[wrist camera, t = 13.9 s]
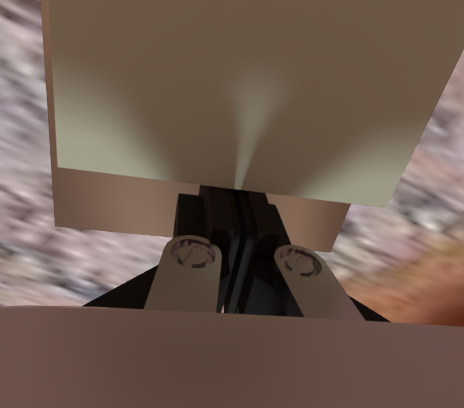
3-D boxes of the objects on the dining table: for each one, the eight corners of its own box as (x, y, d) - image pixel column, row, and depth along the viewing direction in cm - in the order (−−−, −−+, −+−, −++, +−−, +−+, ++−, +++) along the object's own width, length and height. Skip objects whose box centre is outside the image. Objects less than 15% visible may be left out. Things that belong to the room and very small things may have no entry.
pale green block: (437, -113, 10) (567, -163, 6) (337, 153, 14) (385, 208, 10) (94, -225, 8) (29, -374, 5) (93, 115, 12) (57, 167, 9)
